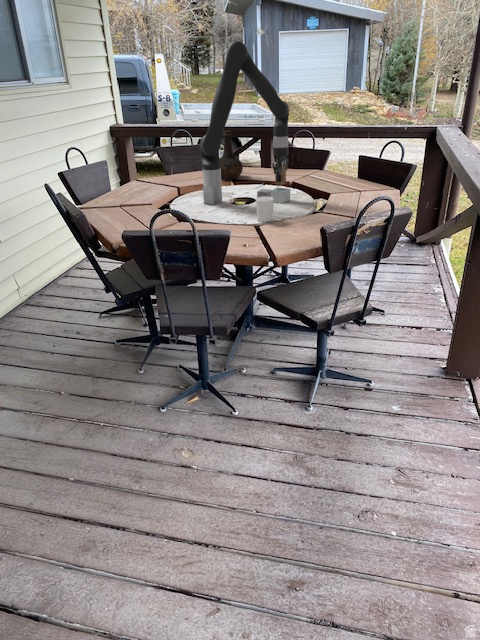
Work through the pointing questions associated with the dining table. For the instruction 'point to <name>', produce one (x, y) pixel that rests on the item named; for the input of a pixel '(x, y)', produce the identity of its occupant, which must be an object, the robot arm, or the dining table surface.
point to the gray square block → (264, 193)
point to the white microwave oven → (280, 194)
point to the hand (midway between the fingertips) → (280, 180)
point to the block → (282, 176)
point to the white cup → (264, 208)
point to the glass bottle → (229, 160)
